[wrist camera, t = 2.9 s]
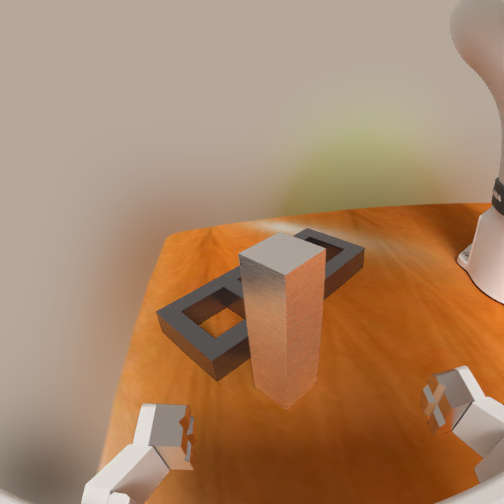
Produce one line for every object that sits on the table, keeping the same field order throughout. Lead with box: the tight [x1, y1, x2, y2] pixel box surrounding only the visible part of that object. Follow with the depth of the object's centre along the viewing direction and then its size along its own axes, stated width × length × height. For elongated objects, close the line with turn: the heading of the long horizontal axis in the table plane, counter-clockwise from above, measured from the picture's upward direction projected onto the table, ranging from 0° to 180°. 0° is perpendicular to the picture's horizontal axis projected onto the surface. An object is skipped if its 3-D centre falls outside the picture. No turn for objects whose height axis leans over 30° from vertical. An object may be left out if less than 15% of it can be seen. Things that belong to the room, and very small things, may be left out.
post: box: [239, 232, 326, 410], centre depth 24 cm, size 4×4×14 cm
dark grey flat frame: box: [156, 228, 365, 381], centre depth 39 cm, size 26×10×3 cm, turn 134°
